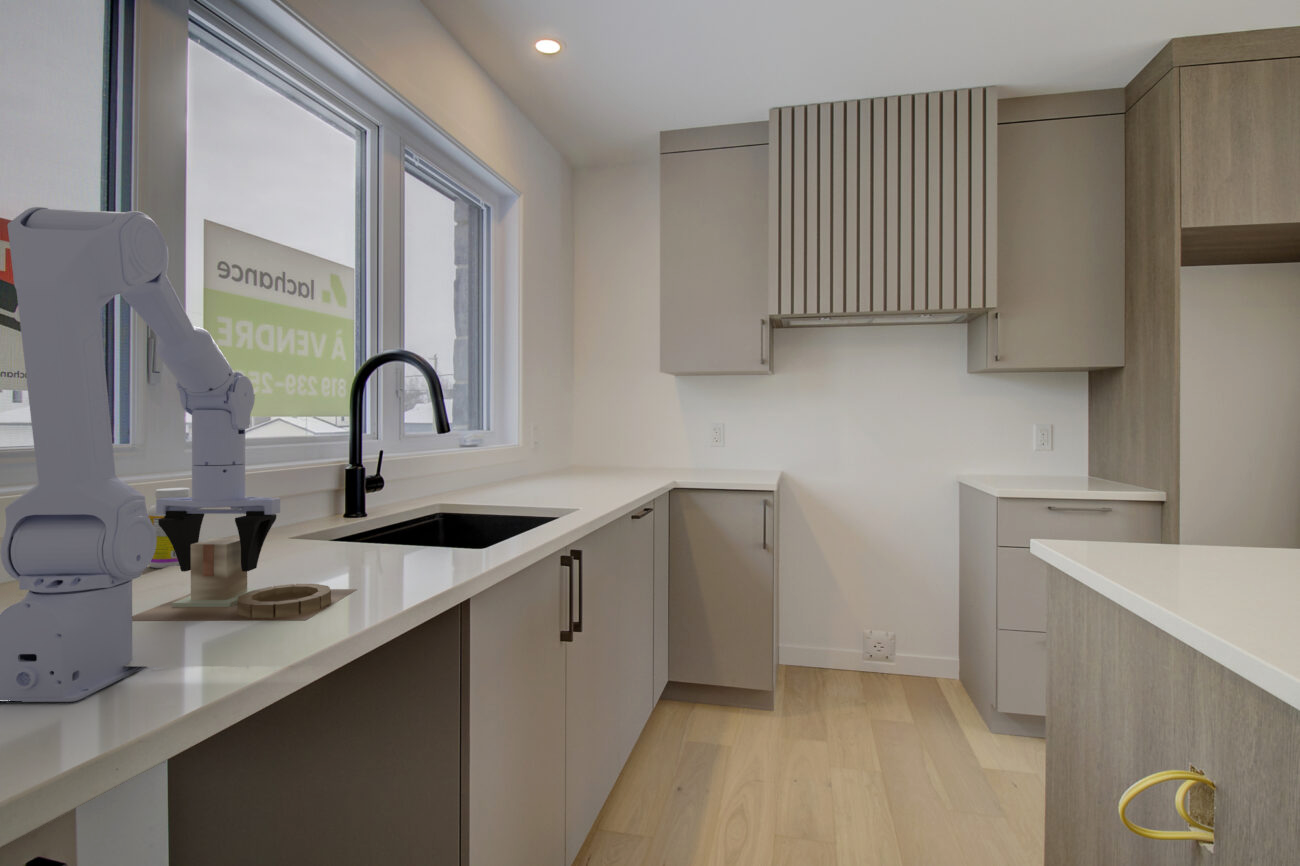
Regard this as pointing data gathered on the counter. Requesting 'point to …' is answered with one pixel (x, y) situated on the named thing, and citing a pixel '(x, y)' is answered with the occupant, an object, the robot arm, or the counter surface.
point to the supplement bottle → (164, 548)
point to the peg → (217, 569)
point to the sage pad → (209, 601)
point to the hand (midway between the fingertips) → (219, 569)
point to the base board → (256, 605)
